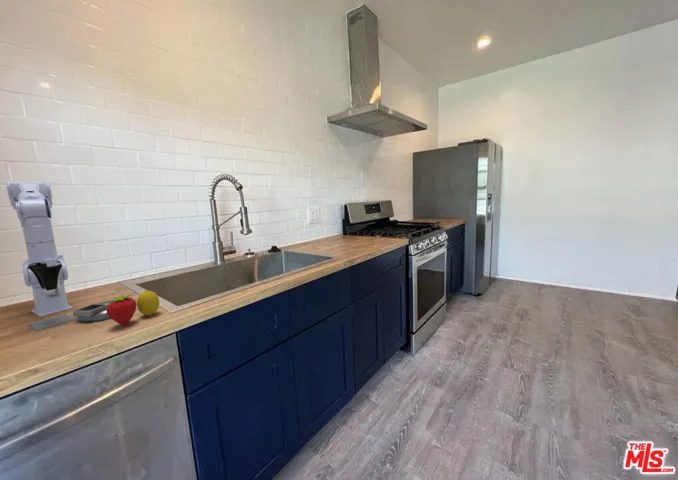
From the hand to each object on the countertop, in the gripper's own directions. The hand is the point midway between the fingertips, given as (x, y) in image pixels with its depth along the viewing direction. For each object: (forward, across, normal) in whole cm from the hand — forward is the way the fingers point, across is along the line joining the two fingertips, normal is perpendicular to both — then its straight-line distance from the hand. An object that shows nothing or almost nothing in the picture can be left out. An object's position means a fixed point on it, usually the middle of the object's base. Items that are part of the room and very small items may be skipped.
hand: (49, 288), depth 83 cm
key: (+2, 0, 0) cm, 2 cm away
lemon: (+11, -21, -16) cm, 28 cm away
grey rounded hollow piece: (+10, -6, -10) cm, 16 cm away
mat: (+10, +1, +1) cm, 10 cm away
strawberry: (+11, -22, -9) cm, 26 cm away
